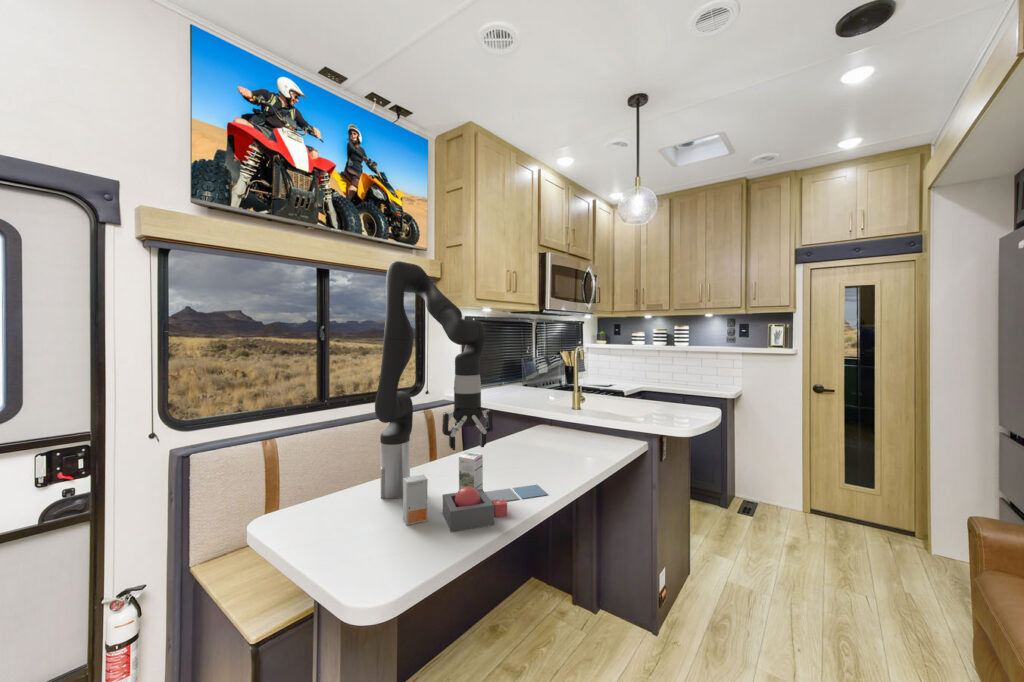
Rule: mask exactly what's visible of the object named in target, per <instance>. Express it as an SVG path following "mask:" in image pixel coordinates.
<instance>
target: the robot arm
mask: <svg viewBox="0 0 1024 682" xmlns="http://www.w3.org/2000/svg"><path fill="white" fill-rule="evenodd" d="M385 283H386V284H385V288H386V289H385V290H386V291H385V294H386V295H385V298H386V300H385V303H386V306H385V308H386V309H385V324H384V333H383V342H382V356H381V365H380V373H379V380H378V385H377V390H376V396H375V401H374V412H375V416H376V418H377V420H378V421H379V422H381V423H383V424H388V426H387V427H386V428H385V429H384V430H383V431H382V432H381V433H380V467H379V468H380V470H379V471H380V498H381V499H399V498H400V499H401V498H403V478H407V477H411V458H410V457H411V455H410V454H411V450H410V449H411V448H410V447H411V446H410V445H411V440H410V438H411V437H410V436H411V434H412V430H413V421H414V420H413V417H414V414H413V413H414V405H413V399H412V397H411V396H410V394H409V393H408V392H406V391H402V390H399V391H398V388H399V383H400V380H401V376H402V375H403V373H404V371H405V369H406V367H407V365H408V363H409V362H410V360H411V357H412V353H413V347H414V345H413V344H414V335H415V334H414V330H413V327H412V324H411V322H410V319H409V317H408V315H407V313H406V310H405V302H404V301H405V300H404V299H405V293H413V294H416V295H418V296H419V297H421V298H422V299H423V301H424V302H425V306H426V310H427V311H428V313H429V314H430V316H432V318H433V319H434V320H436V322H438V323H439V325H441V327H442V328H443V329H442V330H443V331H444V333H445V334H446V336H447V338H448V339H449V340H450V341H451V342H452V343H454V344H456V345H459V346H464V349H463V352H461V353H459V354H457V355H456V356H455V358H454V381H453V382H454V383H453V392H454V393H453V401H454V402H453V404H454V405H453V406H454V407H453V411H452V412H442V429H441V430H442V434H443V435H444V436H448V446H449V448H450V449H451V450H452V451H456V436H455V435H456V434H457V432H458V431H460V429H461V428H467V427H470V428H472V427H473V428H474V427H477V428H478V430H479V431H480V432H479V447H481V448H485V446H486V445H487V433H490V432H493V430H494V426H493V425H494V424H493V412H492V411H493V410H492V411H491V410H490V409H486V410H482V383H481V382H482V381H481V380H482V379H481V373H480V372H481V362H480V361H481V357H482V355H483V351H484V350H483V349H484V344H485V339H486V330H485V327H484V325H483V324H482V322H481V321H479V320H476V319H463V314H462V310H461V309H460V308H459V307H458V306H457V305H456V304H455V303H453V302H452V301H451V300H450V299H449V298H448V297H447V296H446V295H444V294H443V293H442V292H441V291H440V289H439V288H438V287H437V286H436V284H435V283H434V282H433V281H432V279H431V278H430V277H429V275H428V274H427V272H426V271H425V270H424V269H423V268H422V267H421V266H420V265H417V264H416V263H410V262H405V261H400V260H394V261H393V262H392V261H391V263H390V264H389V266H388V268H387V270H386V280H385ZM482 417H484V418H485V425H486V426H485V427H484V425H483V424H482V423H481V421H480V420H481V418H482ZM452 418H454V420H455V422H454V423H453V425H452V427H451V428H450V429H449V423H450V421H451V420H452Z"/></svg>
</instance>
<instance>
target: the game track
mask: <svg viewBox="0 0 1024 682" xmlns="http://www.w3.org/2000/svg"><path fill="white" fill-rule="evenodd" d="M513 489H514V490H513ZM484 492H485V493H486V495H487V496H488V498H489V499H490V500H491V502H492V500H498V499H504V500H505V501H506V502H512V501H511V500H513V501H518V499H519V500H520V499H522V500H524V498H526V499H531V498H530V497H533V498H537V497H536V496H540V497H544V496H543V495H546V496H549V493H547V492H546V491H545V490H544V489H543V488H542V487H541V486H540V485H539V484H532V485H524V486H518V487H517V486H516V487H512V489H511V488H509V487H508V488H502V489H496V490H488V491H484ZM517 495H518V496H519V497H518V496H517Z"/></svg>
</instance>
